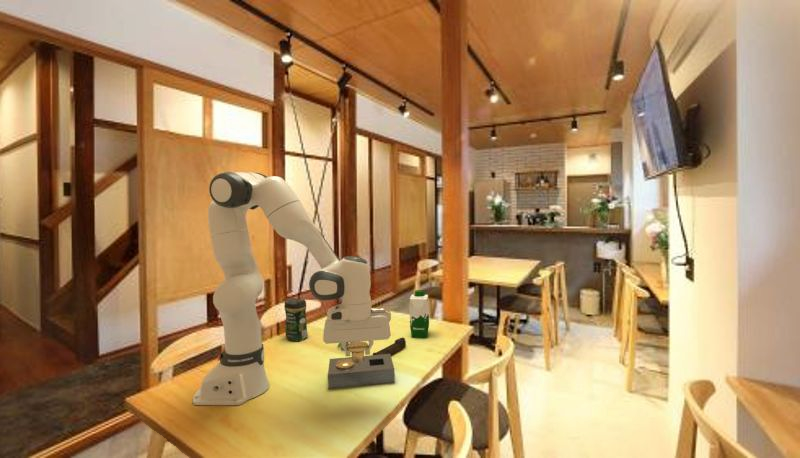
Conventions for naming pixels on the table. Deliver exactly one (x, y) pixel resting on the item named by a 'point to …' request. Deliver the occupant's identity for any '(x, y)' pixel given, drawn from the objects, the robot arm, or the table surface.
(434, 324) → the table surface
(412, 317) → the milk carton
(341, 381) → the block
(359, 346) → the tan dome cap
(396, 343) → the hand tool
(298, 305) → the coffee jar
